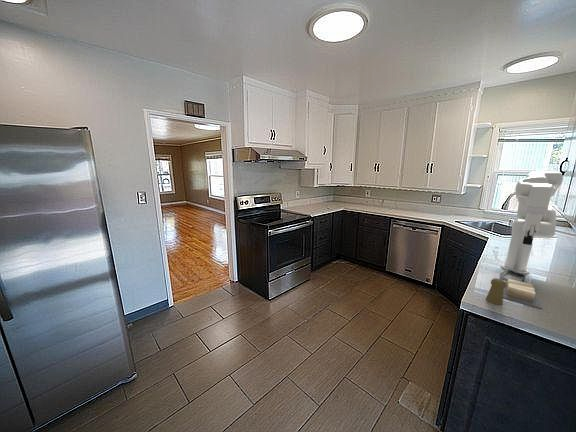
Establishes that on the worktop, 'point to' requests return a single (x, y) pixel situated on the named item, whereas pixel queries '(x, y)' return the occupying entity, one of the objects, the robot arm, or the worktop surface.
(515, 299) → the rubber mat
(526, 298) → the maple plaque
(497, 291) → the cork
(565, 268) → the worktop surface
